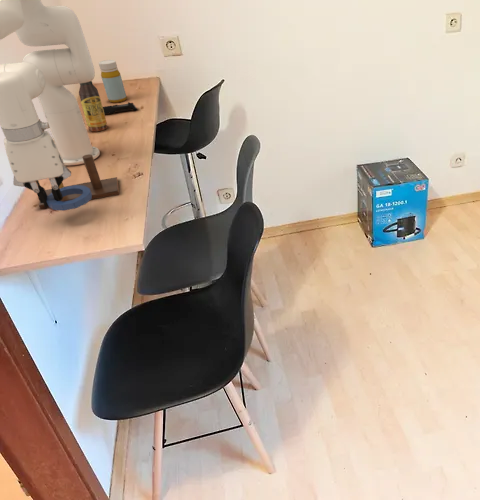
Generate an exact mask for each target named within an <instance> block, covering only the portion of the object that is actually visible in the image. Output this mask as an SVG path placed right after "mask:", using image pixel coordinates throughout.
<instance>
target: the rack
mask: <svg viewBox="0 0 480 500" xmlns="http://www.w3.org/2000/svg"><path fill="white" fill-rule="evenodd" d="M82 158H83V161H84V163H83V164H84V167H85V168H86V172H87V175H88V178H89V180H90V181H88V182H83V183H76V184H75V185H81V186H86V187H88V188H90V191H91V193H92V199H91V200H90V201H92V200H96V199H102V198H106V197H107V198H108V197H112V196H117V195H120V189H119V179H118V177H117V176H116V177H111V178H105V179H104V178H103V179H101V177H100V174H99V172H98V169H97V165H96V162H95V159H93V156H92V155H90V154H88V155H84V156H83V157H82ZM73 185H74V184H71V185H65V184H64V182H62V183H61V184H60V186H59V189H61V188H63V187H68V186H73ZM45 192H46V194H47V196H48V195H49V194H51V193H52V188H49V189H45ZM81 195H82V194H71V195H66V196H64V197H63V199H62V200H61V201H69V200H73V199H75V198H78V197H79V196H81ZM38 204H39V209H40V210H42V209H43V210H45V209H48V208H50V207H49V206H48V207H45V206H44V203H41V202H40V201H39V203H38Z"/></svg>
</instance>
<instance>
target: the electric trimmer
mask: <svg viewBox="0 0 480 500" xmlns="http://www.w3.org/2000/svg"><path fill="white" fill-rule="evenodd" d="M102 107H103V110H104V114H105V115H111V114H115V113H120V112H128V111H134V112H136V111H137V110H138V108H137V107H136V105H135V104H134V102H129V101H128V102H127V103H122V104H114V105H113V104H112V105H106V106H105V105H104V106H102Z"/></svg>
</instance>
